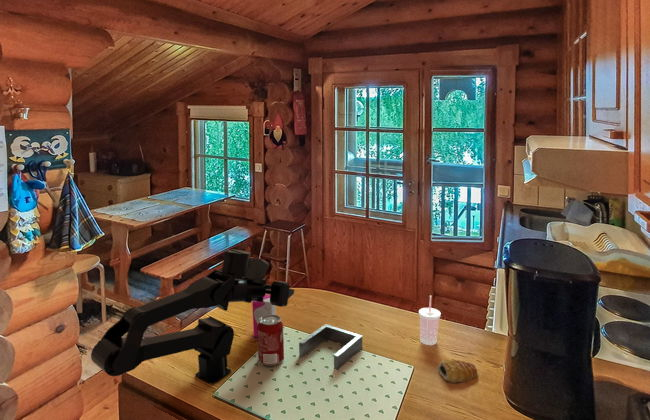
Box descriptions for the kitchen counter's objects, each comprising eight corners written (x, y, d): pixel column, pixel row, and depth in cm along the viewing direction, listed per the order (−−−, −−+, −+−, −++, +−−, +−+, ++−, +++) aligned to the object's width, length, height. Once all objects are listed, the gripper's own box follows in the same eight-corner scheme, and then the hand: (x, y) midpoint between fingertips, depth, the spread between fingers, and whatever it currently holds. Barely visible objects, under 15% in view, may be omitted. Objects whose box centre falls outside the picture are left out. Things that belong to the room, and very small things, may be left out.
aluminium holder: (337, 370, 113) (337, 356, 112) (299, 355, 119) (299, 342, 118) (362, 348, 123) (362, 335, 122) (325, 336, 130) (325, 323, 129)
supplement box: (276, 329, 134) (275, 294, 131) (272, 339, 128) (271, 302, 126) (258, 328, 134) (256, 293, 132) (253, 338, 129) (251, 302, 126)
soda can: (279, 369, 113) (278, 326, 111) (254, 366, 115) (253, 324, 112) (287, 355, 120) (286, 314, 117) (263, 352, 121) (261, 312, 118)
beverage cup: (441, 338, 128) (444, 293, 125) (436, 348, 123) (439, 302, 120) (420, 334, 131) (422, 290, 128) (414, 343, 126) (416, 297, 123)
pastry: (468, 366, 115) (469, 352, 114) (482, 381, 108) (484, 367, 108) (435, 370, 113) (436, 356, 112) (447, 386, 107) (448, 372, 106)
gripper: (269, 262, 109) (309, 264, 121) (221, 256, 121) (262, 258, 133) (264, 308, 108) (305, 305, 120) (216, 297, 120) (258, 295, 132)
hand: (282, 289), depth 126 cm, fingers open, 9 cm apart
